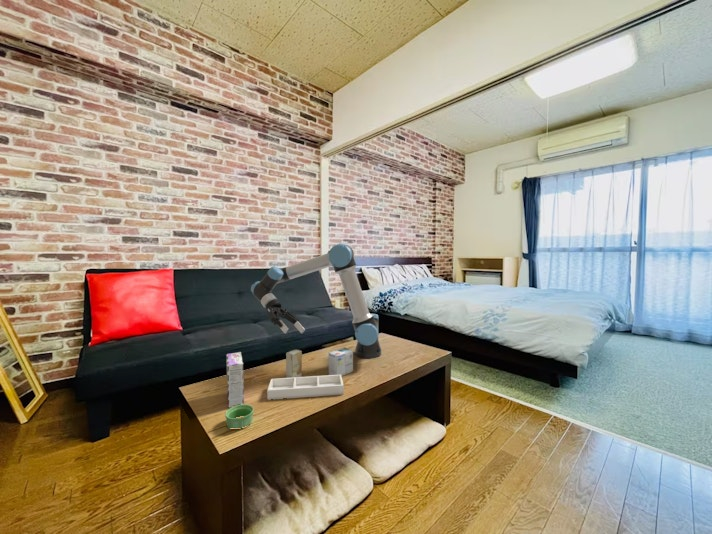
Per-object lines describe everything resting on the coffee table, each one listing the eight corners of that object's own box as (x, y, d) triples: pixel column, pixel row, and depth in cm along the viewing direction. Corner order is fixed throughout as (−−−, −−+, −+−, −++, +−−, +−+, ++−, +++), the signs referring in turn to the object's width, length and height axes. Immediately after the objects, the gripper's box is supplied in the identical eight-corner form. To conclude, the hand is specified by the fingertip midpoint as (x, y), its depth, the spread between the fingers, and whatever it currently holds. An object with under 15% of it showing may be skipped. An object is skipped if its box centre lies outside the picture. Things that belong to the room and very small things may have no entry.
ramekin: (231, 416, 103) (231, 404, 103) (257, 415, 104) (256, 403, 103) (221, 432, 94) (220, 419, 94) (249, 431, 95) (249, 418, 94)
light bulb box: (344, 367, 146) (344, 346, 146) (353, 371, 141) (353, 350, 141) (327, 374, 139) (327, 351, 138) (337, 378, 134) (336, 355, 133)
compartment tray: (341, 382, 129) (341, 374, 129) (343, 394, 119) (343, 385, 119) (271, 387, 125) (271, 378, 125) (267, 399, 114) (267, 390, 114)
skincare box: (292, 381, 131) (292, 354, 130) (285, 379, 133) (285, 352, 133) (302, 376, 136) (302, 350, 136) (295, 373, 139) (295, 348, 138)
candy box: (227, 392, 121) (226, 353, 120) (242, 389, 123) (241, 351, 122) (227, 408, 108) (226, 365, 107) (244, 405, 111) (243, 362, 110)
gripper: (282, 311, 163) (305, 337, 153) (249, 307, 141) (274, 337, 131) (290, 300, 162) (313, 326, 153) (258, 295, 140) (283, 324, 130)
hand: (295, 331), depth 142 cm, fingers open, 13 cm apart
